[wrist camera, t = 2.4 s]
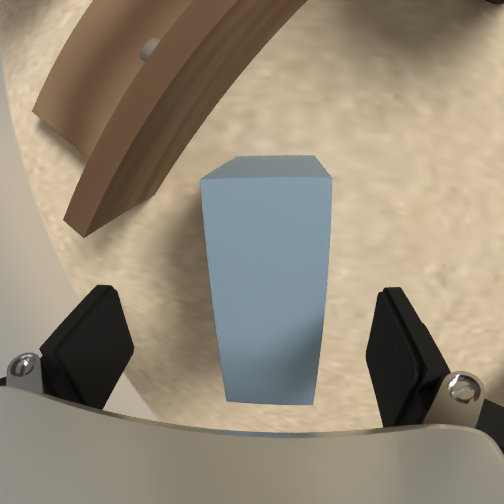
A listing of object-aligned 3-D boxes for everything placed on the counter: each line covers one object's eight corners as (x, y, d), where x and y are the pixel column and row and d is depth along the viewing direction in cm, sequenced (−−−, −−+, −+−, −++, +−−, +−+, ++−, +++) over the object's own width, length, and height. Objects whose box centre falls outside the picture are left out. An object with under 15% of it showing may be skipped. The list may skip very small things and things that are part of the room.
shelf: (308, -2, 12) (317, -72, 5) (154, 194, 17) (83, 238, 10) (167, -64, 10) (118, -119, 4) (46, 110, 15) (-34, 120, 9)
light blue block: (314, 155, 15) (332, 177, 9) (309, 319, 19) (312, 405, 13) (231, 156, 16) (190, 179, 9) (241, 317, 20) (220, 400, 13)
